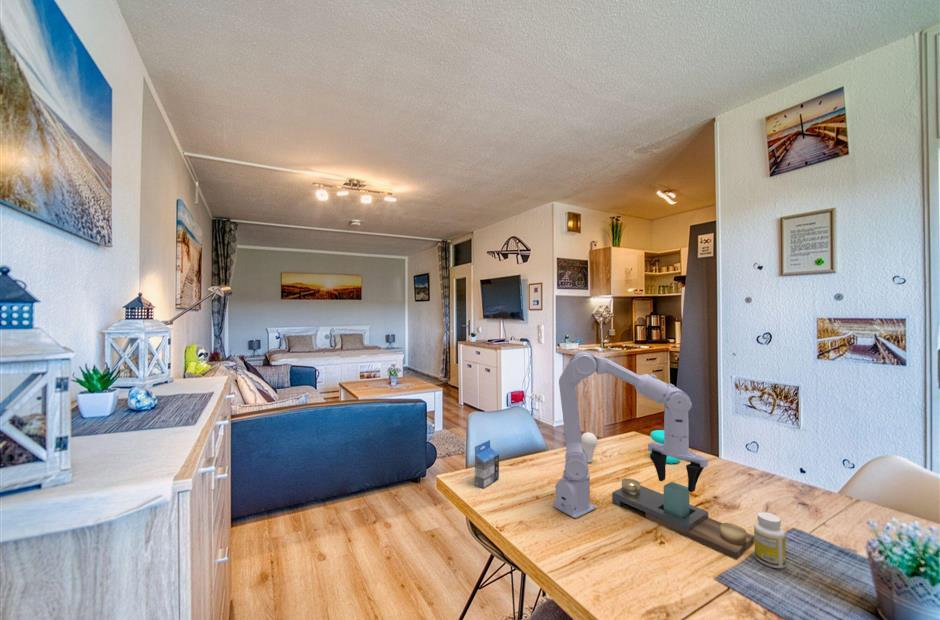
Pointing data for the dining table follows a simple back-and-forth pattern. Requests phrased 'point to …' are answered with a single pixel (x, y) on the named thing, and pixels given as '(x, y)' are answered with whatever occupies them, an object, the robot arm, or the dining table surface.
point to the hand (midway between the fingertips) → (676, 485)
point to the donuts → (659, 438)
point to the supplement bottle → (769, 541)
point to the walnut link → (715, 535)
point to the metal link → (655, 504)
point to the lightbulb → (589, 444)
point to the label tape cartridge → (486, 465)
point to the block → (676, 499)
